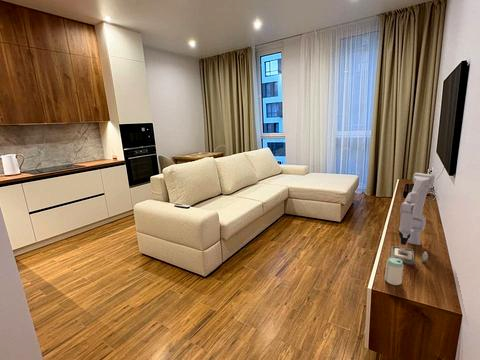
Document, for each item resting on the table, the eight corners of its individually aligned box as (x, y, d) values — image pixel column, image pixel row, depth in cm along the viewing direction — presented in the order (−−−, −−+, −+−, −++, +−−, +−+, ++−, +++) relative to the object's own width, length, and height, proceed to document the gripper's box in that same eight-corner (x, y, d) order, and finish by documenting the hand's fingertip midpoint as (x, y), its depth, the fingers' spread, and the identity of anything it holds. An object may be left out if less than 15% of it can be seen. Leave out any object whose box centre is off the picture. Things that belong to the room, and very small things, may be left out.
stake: (421, 260, 142) (422, 250, 141) (426, 261, 141) (428, 252, 140) (421, 263, 139) (423, 254, 138) (427, 264, 138) (428, 255, 137)
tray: (391, 247, 156) (391, 245, 156) (412, 251, 151) (413, 249, 150) (390, 260, 144) (391, 258, 143) (414, 265, 138) (414, 263, 138)
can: (395, 276, 130) (398, 255, 127) (404, 285, 123) (407, 263, 120) (381, 277, 130) (384, 256, 127) (390, 286, 123) (392, 264, 120)
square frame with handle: (394, 246, 153) (396, 237, 152) (410, 249, 149) (412, 240, 148) (394, 256, 144) (395, 247, 142) (411, 260, 140) (412, 250, 138)
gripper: (415, 228, 138) (411, 251, 142) (413, 219, 150) (410, 239, 154) (399, 226, 142) (397, 248, 145) (399, 217, 154) (397, 237, 157)
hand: (403, 243), depth 150 cm, fingers closed on square frame with handle
